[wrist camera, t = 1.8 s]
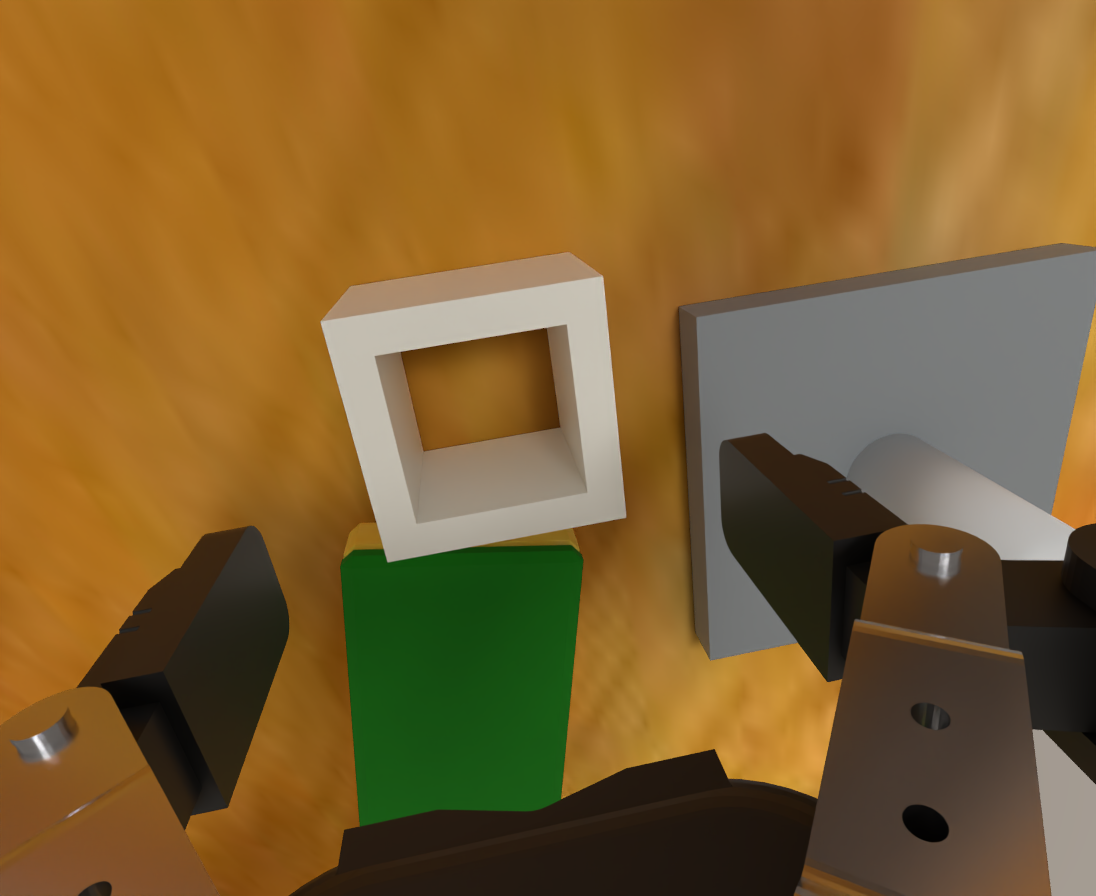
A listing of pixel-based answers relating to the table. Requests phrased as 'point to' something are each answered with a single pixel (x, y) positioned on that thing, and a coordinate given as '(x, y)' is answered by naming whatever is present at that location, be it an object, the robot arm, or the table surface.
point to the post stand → (891, 405)
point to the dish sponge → (460, 673)
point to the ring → (493, 465)
